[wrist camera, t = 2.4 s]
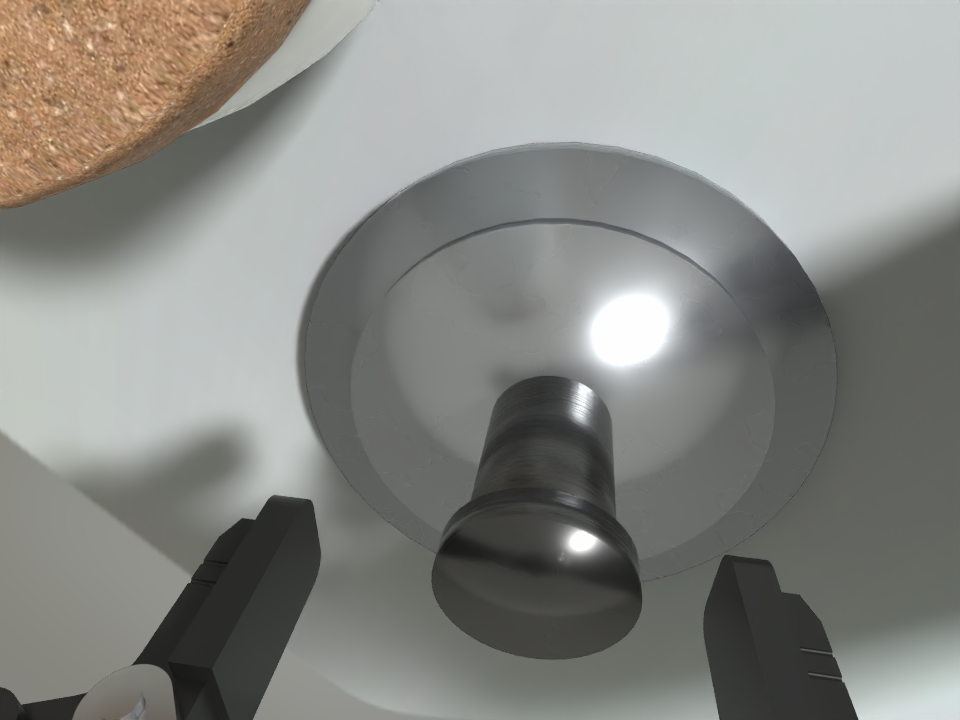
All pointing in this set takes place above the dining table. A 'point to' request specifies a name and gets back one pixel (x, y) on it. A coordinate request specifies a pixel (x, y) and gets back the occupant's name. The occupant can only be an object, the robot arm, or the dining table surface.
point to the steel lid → (568, 382)
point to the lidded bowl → (140, 77)
